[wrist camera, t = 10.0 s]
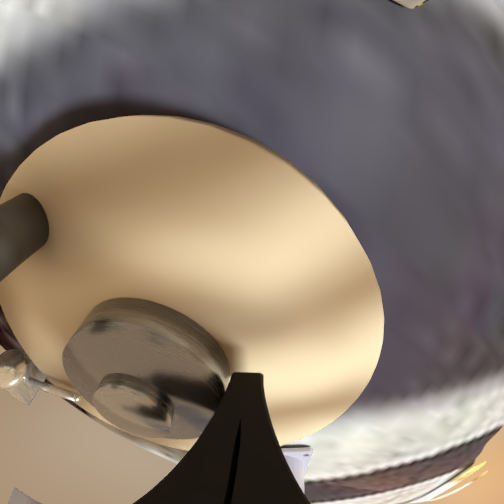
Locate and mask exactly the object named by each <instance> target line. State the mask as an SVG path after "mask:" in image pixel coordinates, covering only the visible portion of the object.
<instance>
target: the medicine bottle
mask: <svg viewBox="0 0 504 504" xmlns="http://www.w3.org/2000/svg"><path fill="white" fill-rule="evenodd" d="M393 1H395V2H397V3H399V4H401V5H403V6H404V7H406V8H410V9H412V8H416V7H418V6H420V5H421V4H423V3H425V2H426V1H428V0H393Z"/></svg>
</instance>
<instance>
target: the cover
mask: <svg viewBox="0 0 504 504" xmlns="http://www.w3.org/2000/svg"><path fill="white" fill-rule="evenodd" d="M62 362H63V367H64V370H65V372H66V374H67V377H68V378H69V380H70V382H71V383H72V385H73V386H74V387H75V389H76V390H77V391H78V392H79V393H80V395H81V396H82V397H83V398H84V399H85V400H86V401H87V402H89V403H90V404H91V405H92V406H93V407H94V408H95V409H96V410H97V412H98V413H99V414H100V415H101V416H102V417H103V418H105V419H106V420H107V421H108V422H110V423H111V424H113V425H115V426H116V427H118V428H120V429H122V430H124V431H126V432H129V433H131V434H134V435H138V436H142V437H147V438H167V439H178V440H182V439H195V438H199V437H200V435H201V434H202V432H203V431H204V429H205V427H206V426H207V424H208V423H209V421H210V420H211V418H212V416H213V414H214V413H215V411H216V409H217V407H218V405H219V403H220V401H221V399H222V397H223V395H224V393H225V391H226V389H227V386H228V384H229V377H230V366H229V362H228V359H227V357H226V355H225V352H224V351H223V349H222V348H221V346H220V345H219V343H218V342H217V341H216V340H215V339H214V337H213V336H212V335H211V334H210V333H209V332H207V331H206V330H205V329H204V328H203V327H202V326H200V325H199V324H198V323H196V322H195V321H194V320H192V319H190V318H189V317H187V316H186V315H184V314H182V313H180V312H178V311H176V310H174V309H172V308H170V307H167V306H165V305H162V304H159V303H156V302H153V301H150V300H145V299H140V298H130V297H122V298H113V299H109V300H106V301H103V302H101V303H99V304H98V305H96V306H95V307H94V308H93V309H92V310H91V311H90V312H89V314H88V315H87V316H86V318H85V319H84V321H83V322H82V323H81V325H80V326H79V327H78V329H77V330H76V332H75V333H74V334H73V336H72V337H71V339H70V340H69V342H68V343H67V344H66V346H65V348H64V350H63V353H62Z"/></svg>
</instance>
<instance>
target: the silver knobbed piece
mask: <svg viewBox="0 0 504 504" xmlns="http://www.w3.org/2000/svg"><path fill="white" fill-rule="evenodd" d="M45 379H46V377H45V375H44V374H43V373H42V372H41V371H40V370H39V369H38V368H37V366H36V365H35V364H34V363H33V361H32V360H31V359H30V358H29V356H28V355H27V354H26V352H25V351H24V349H23V348H21V349H20V350H17V349H11V350H8V351H5V352H3V353H2V354H1V355H0V388H1V389H3V390H7V391H8V392H9V394H10V395H11V396H12V397H13V398H14V399H16V400H18V401H20V402H23V403H24V404H27V405H30V403H31V402H32V400H33V398H34V396H35V395H36V393H37V392H38V390H39V389H40V390H43V391H46V392H48V393H51V394H54V395H56V396H59V397H62V398H65V399H68V400H71V401H74V402H80V401H81V396H80V395H79V394H78V393H75V392H72V391H69V390H66V389H62V388H59V387H56V386H53V385H51V384H48V383H45V382H44V380H45Z"/></svg>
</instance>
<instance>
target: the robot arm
mask: <svg viewBox="0 0 504 504" xmlns="http://www.w3.org/2000/svg"><path fill="white" fill-rule="evenodd" d="M312 453H313V449H312V448H308V447H307V448H281V447H280V445H279V442H278V440H277V437H276V434H275V431H274V428H273V425H272V422H271V418H270V415H269V411H268V407H267V403H266V398H265V392H264V375H263V374H262V373H251V372H234V373H232V375H231V378H230V381H229V384H228V386H227V389H226V391H225V393H224V395H223V397H222V399H221V401H220V403H219V405H218V407H217V409H216V411H215V413H214V414H213V416H212V418H211V420H210V421H209V423H208V424H207V426H206V427H205V429H204V431H203V432H202V434H201V435H200V437H199V438H198V440H197V441H196V442H195V444H194V445H193V446H192V448H191V449H190V450H189V451H188V453H187V454H186V455H185V456H184V458H183V459H182V460H181V461H180V462H179V463H178V464H177V465H176V467H175V468H174V469H173V470H172V471H171V472H170V473H169V474H168V475H167V476H166V477H165V478H164V479H163V480H161V481H160V482H159V483H158V484H157V485H156V486H155V487H154V488H153V489H152V490H150V491H149V492H148V493H147V494H145V495H144V496H143V497H141V498H140V499H139V500H137V501H136V502H135V503H133V504H310V502H309V501H308V499H307V498H306V496H305V495H304V475H305V472H306V470H307V467H308V464H309V462H310V459H311V456H312ZM8 504H41V503H40V502H38V501H35V500H34V499H32V498H30V497H29V496H27V495H26V494H24V493H23V492H21V491H19V490H18V489H17V488H14V490H13V492H12V494H11V497H10V499H9V502H8Z"/></svg>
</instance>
